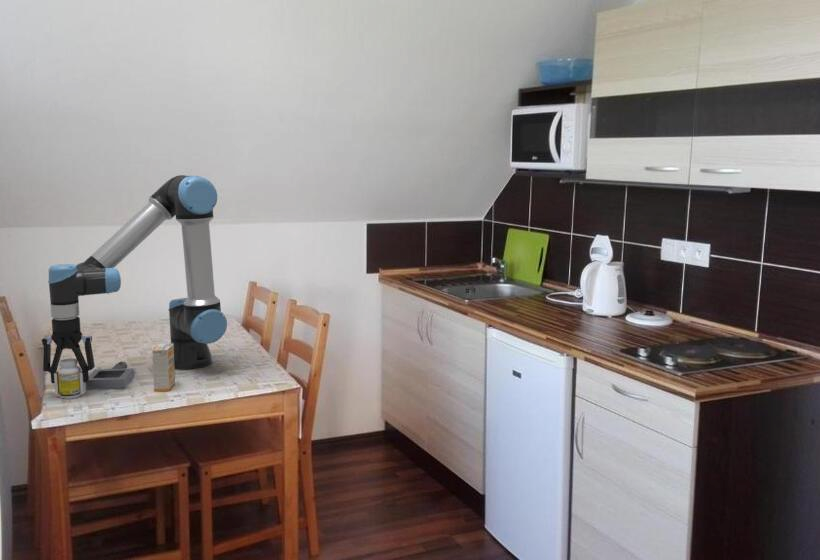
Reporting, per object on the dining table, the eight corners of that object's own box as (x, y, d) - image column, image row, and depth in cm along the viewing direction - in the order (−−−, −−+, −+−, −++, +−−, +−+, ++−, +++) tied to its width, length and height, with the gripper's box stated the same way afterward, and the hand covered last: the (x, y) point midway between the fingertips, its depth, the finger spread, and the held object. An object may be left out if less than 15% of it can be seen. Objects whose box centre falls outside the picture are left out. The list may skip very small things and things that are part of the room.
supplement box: (169, 391, 228) (167, 349, 225) (153, 391, 227) (151, 349, 225) (176, 383, 236) (174, 342, 234) (160, 383, 235) (158, 343, 233)
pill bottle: (66, 392, 226) (64, 357, 224) (86, 393, 225) (84, 357, 223) (55, 399, 220) (52, 362, 218) (75, 399, 219) (73, 363, 217)
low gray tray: (125, 389, 230) (124, 379, 229) (84, 391, 228) (83, 380, 228) (141, 370, 251) (140, 360, 251) (103, 371, 250) (103, 361, 249)
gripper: (103, 314, 223) (108, 388, 227) (35, 315, 221) (41, 390, 225) (96, 319, 216) (101, 395, 220) (25, 320, 214) (31, 398, 217)
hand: (70, 393), depth 222 cm, fingers open, 6 cm apart
